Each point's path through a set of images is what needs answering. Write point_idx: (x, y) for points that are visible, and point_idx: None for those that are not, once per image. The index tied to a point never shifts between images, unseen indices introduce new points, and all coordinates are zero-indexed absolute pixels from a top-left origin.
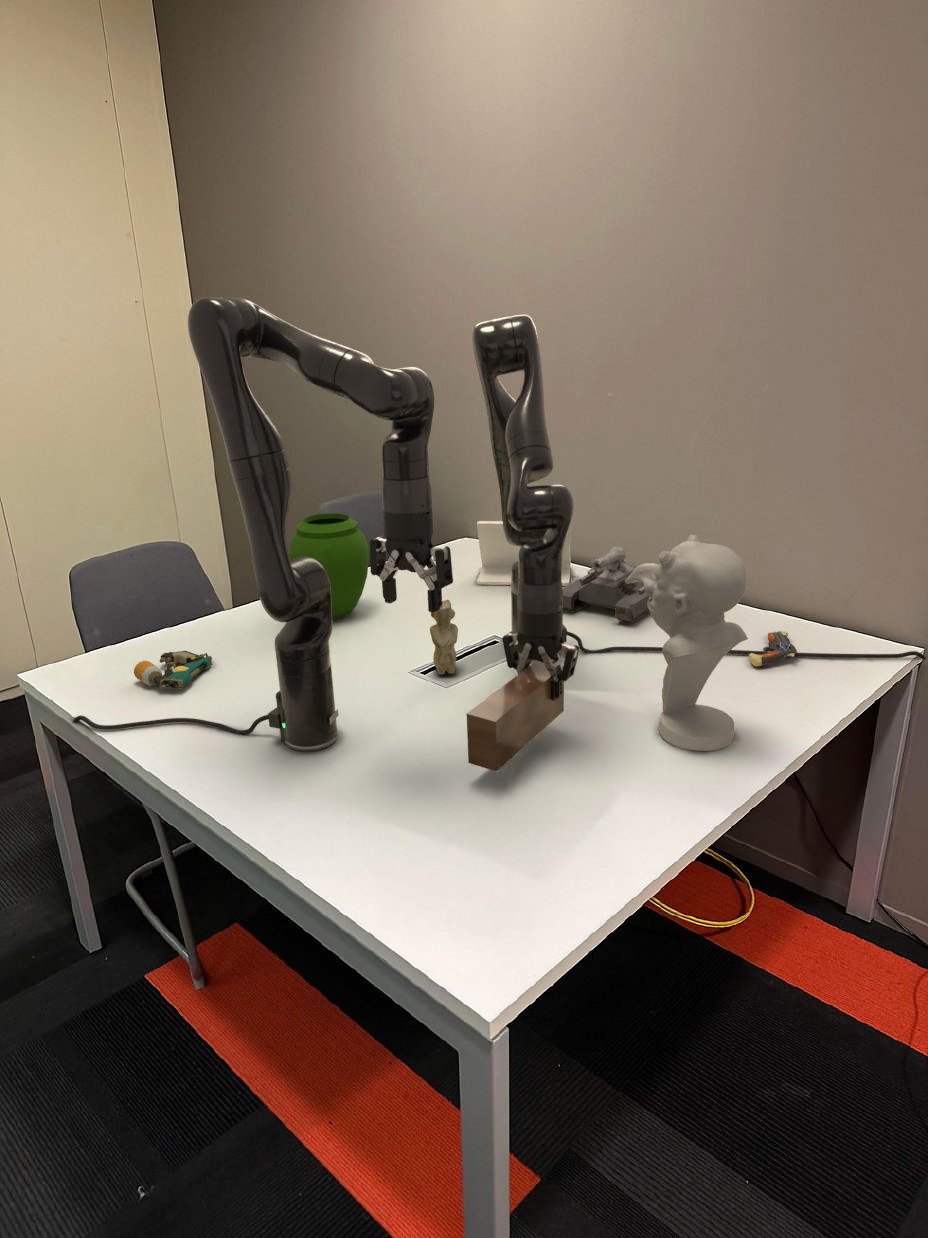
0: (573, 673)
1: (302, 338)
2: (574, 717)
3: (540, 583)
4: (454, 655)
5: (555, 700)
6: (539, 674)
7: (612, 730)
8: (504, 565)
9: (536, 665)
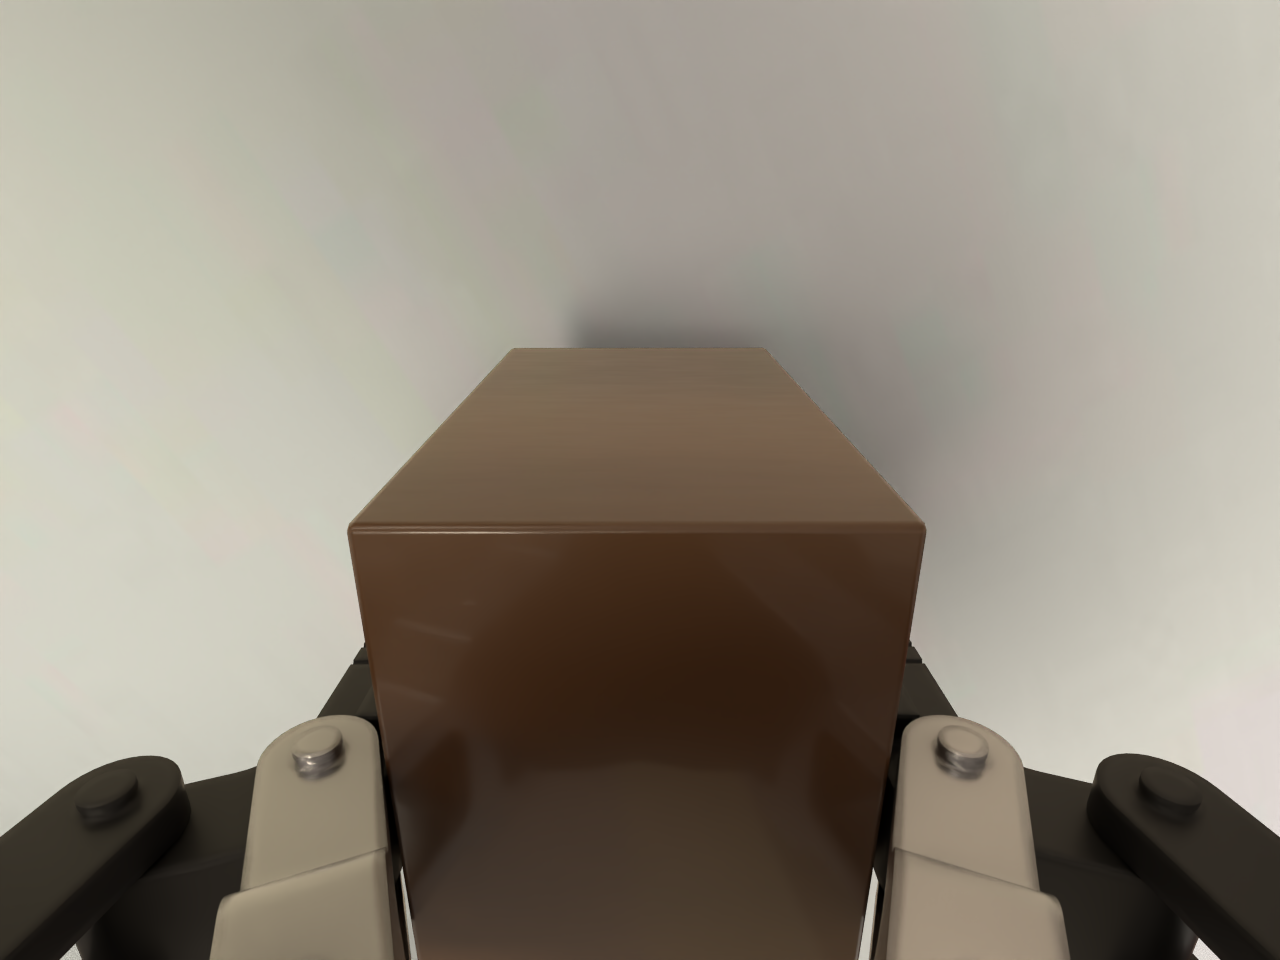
0: (1225, 812)
1: None
2: (719, 65)
3: None
4: None
5: None
6: (688, 934)
7: (1054, 119)
8: None
9: (481, 732)
